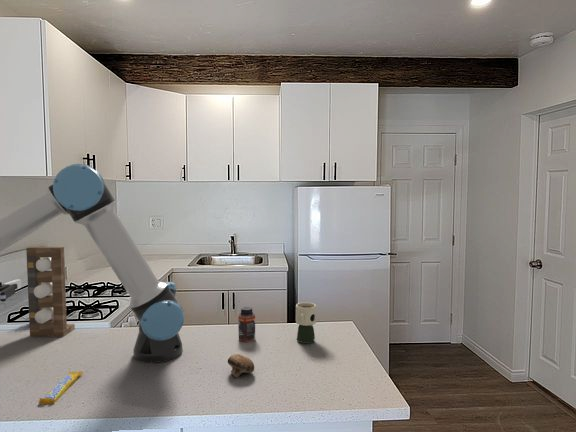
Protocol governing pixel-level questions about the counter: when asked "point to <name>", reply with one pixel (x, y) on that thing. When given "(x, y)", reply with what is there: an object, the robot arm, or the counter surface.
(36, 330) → the switch panel
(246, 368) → the mushroom
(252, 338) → the supplement bottle
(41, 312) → the bottom button
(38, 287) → the middle button
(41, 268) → the top button
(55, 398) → the candy bar
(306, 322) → the character mug
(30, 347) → the counter surface
